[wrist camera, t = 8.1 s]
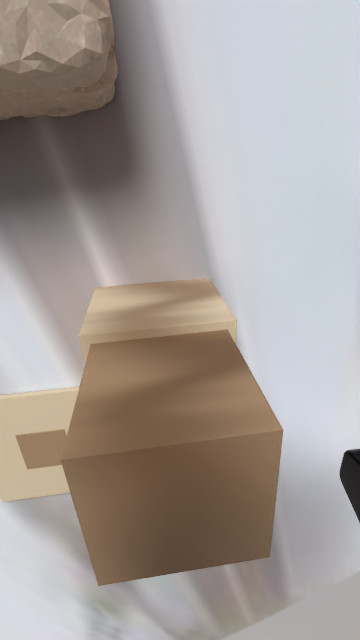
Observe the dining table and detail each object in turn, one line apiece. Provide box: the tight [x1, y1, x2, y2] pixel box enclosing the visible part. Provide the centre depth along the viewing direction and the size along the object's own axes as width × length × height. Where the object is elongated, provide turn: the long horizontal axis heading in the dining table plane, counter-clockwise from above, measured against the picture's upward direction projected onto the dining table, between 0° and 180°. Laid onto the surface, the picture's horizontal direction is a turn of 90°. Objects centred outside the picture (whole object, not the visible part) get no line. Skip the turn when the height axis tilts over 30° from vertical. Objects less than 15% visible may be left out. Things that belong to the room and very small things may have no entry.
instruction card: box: [0, 387, 79, 502], centre depth 17 cm, size 9×7×1 cm
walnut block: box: [61, 329, 283, 586], centre depth 9 cm, size 4×4×4 cm
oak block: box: [79, 278, 237, 364], centre depth 13 cm, size 5×5×4 cm
